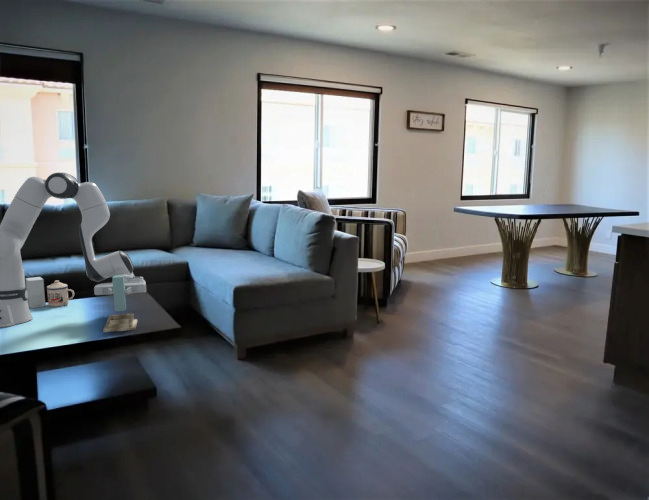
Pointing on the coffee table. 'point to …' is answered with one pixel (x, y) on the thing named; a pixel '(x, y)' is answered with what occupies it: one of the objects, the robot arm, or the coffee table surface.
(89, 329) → the coffee table surface
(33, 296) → the small box
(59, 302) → the teacup with lid
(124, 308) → the post
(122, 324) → the socket
